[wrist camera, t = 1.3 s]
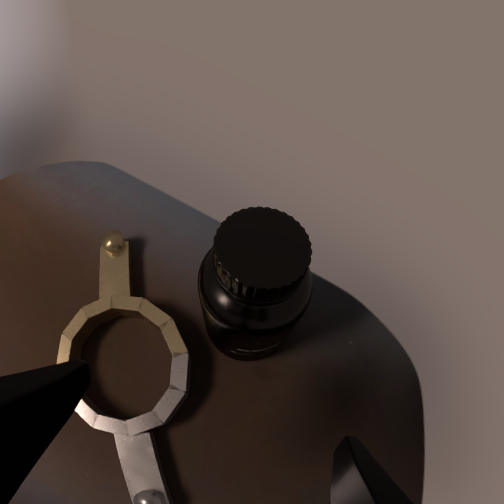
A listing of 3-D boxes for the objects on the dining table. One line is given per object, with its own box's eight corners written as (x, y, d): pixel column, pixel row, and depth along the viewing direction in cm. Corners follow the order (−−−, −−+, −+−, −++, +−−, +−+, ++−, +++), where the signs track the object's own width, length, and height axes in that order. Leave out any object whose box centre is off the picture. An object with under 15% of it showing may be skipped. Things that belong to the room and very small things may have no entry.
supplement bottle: (248, 379, 21) (265, 346, 11) (189, 322, 23) (158, 242, 13) (303, 322, 24) (356, 245, 14) (246, 272, 26) (257, 173, 16)
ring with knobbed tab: (192, 360, 21) (188, 355, 20) (67, 374, 19) (56, 369, 17) (172, 231, 28) (169, 218, 26) (70, 251, 26) (62, 240, 24)
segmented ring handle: (243, 540, 13) (244, 549, 11) (110, 542, 11) (101, 549, 9) (191, 355, 22) (187, 349, 20) (67, 369, 19) (56, 364, 18)
